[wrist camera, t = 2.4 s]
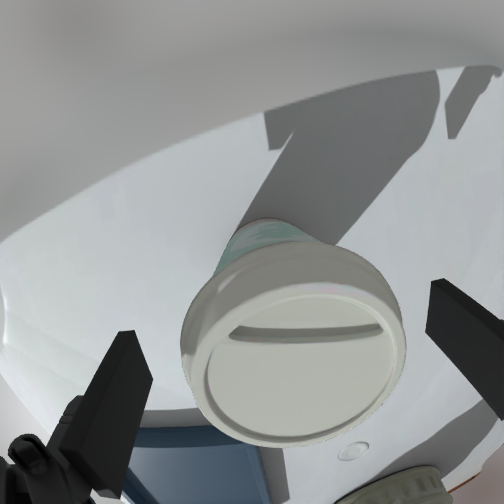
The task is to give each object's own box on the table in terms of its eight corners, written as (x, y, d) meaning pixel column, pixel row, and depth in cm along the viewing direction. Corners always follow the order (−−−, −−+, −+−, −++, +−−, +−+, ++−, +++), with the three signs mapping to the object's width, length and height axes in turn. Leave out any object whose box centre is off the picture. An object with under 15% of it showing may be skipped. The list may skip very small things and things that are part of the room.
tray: (84, 425, 26) (77, 442, 23) (252, 421, 26) (254, 442, 23) (154, 511, 32) (153, 525, 30) (274, 508, 33) (276, 522, 30)
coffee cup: (353, 243, 21) (457, 336, 10) (280, 336, 23) (314, 471, 12) (251, 169, 19) (278, 198, 8) (179, 277, 21) (133, 406, 10)
